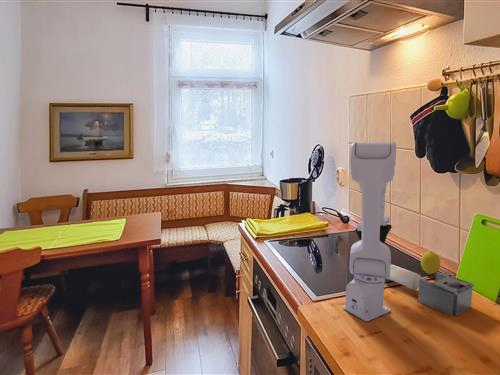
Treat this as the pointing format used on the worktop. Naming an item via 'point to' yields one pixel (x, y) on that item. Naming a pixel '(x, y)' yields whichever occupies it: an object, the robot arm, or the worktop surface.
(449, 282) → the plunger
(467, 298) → the housing
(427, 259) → the lemon
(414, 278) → the cartridge
